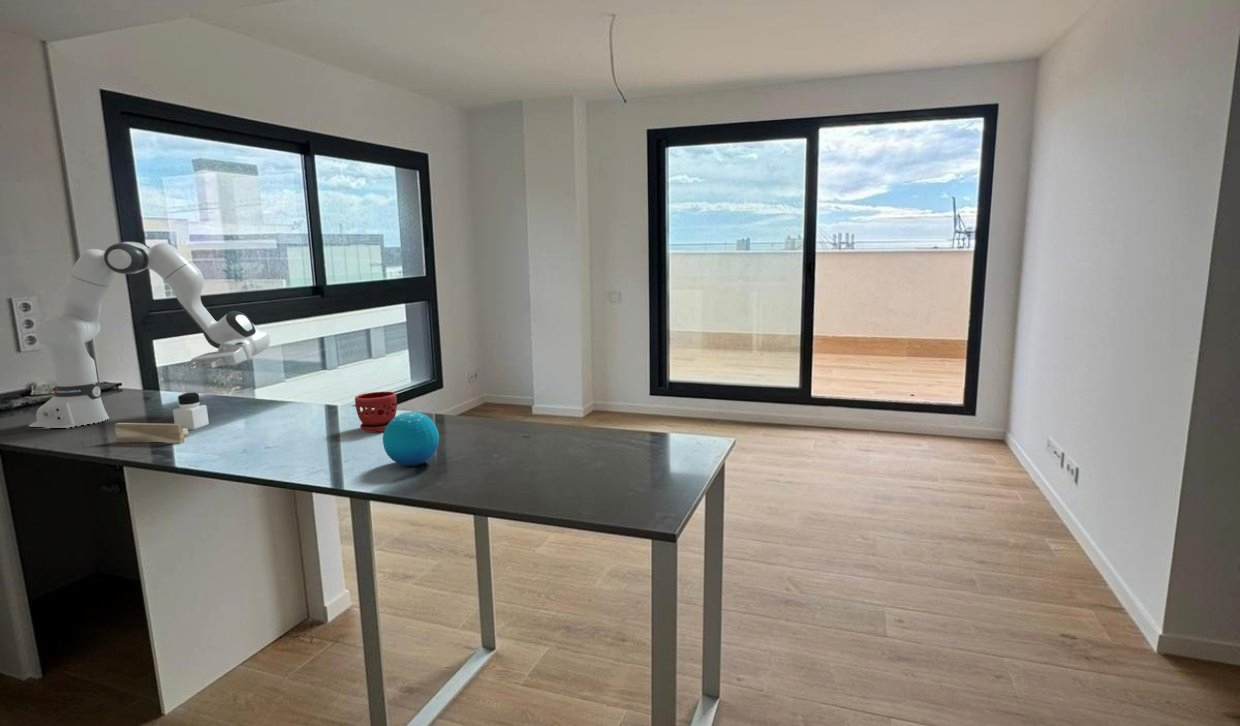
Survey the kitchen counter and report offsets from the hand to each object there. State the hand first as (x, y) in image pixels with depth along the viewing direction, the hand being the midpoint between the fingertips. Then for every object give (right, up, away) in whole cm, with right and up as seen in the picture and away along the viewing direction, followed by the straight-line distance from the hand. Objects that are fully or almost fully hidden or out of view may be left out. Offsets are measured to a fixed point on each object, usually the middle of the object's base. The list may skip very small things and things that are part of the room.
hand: (200, 367), depth 225 cm
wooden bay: (-3, -23, -17) cm, 29 cm away
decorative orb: (+89, -27, -45) cm, 104 cm away
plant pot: (+65, -21, -7) cm, 69 cm away
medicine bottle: (-1, -21, -2) cm, 21 cm away
